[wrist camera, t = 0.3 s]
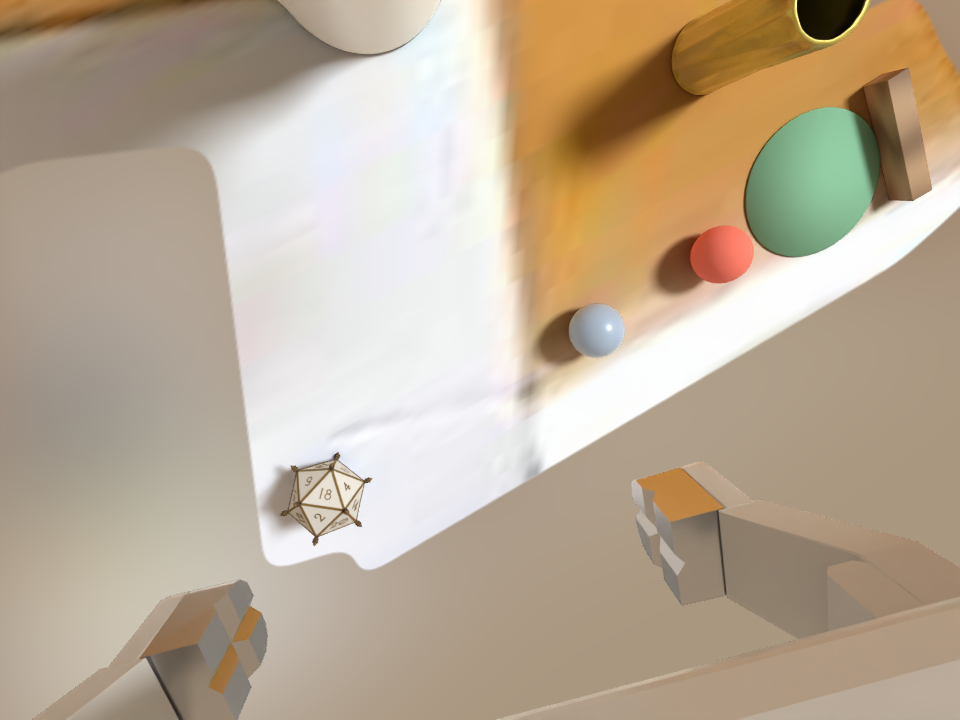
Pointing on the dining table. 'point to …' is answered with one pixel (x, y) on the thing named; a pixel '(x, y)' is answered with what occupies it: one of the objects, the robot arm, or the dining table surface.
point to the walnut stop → (898, 135)
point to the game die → (326, 497)
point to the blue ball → (596, 330)
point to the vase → (757, 38)
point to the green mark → (812, 182)
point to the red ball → (721, 254)
